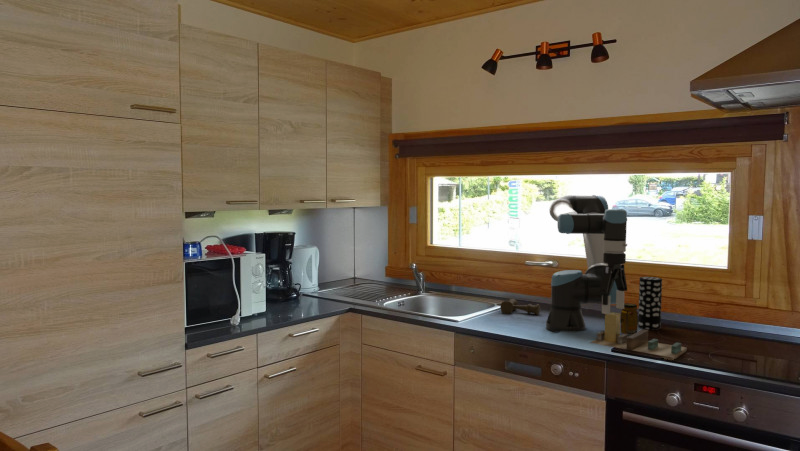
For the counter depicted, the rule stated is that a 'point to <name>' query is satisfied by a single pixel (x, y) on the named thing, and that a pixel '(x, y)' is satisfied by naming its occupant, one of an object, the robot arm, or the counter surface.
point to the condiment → (629, 319)
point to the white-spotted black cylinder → (650, 303)
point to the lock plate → (642, 344)
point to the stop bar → (612, 326)
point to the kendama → (518, 307)
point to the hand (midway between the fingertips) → (613, 311)
